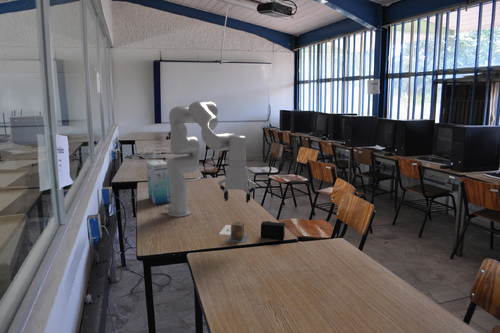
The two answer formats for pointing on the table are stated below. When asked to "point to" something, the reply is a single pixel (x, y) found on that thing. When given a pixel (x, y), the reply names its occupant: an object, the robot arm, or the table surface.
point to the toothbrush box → (158, 182)
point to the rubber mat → (238, 240)
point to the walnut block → (237, 230)
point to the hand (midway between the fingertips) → (237, 201)
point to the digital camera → (273, 230)
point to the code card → (226, 230)
